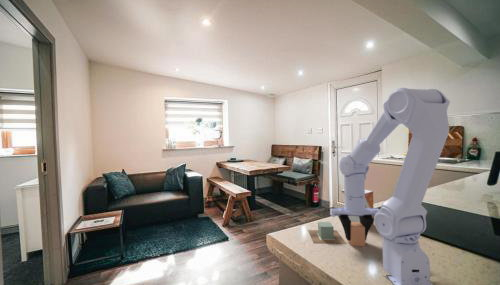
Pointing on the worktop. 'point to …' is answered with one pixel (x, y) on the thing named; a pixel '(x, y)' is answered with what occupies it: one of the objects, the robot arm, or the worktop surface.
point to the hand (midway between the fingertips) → (355, 239)
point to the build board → (318, 240)
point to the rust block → (357, 234)
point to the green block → (325, 230)
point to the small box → (367, 205)
